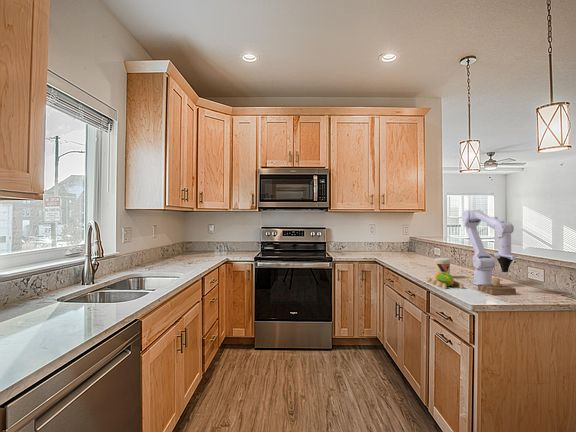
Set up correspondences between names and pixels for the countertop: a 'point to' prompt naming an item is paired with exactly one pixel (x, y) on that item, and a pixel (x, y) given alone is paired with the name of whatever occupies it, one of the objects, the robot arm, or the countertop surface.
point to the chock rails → (443, 283)
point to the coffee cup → (442, 265)
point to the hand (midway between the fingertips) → (505, 272)
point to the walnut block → (497, 289)
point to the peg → (495, 282)
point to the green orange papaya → (445, 278)
